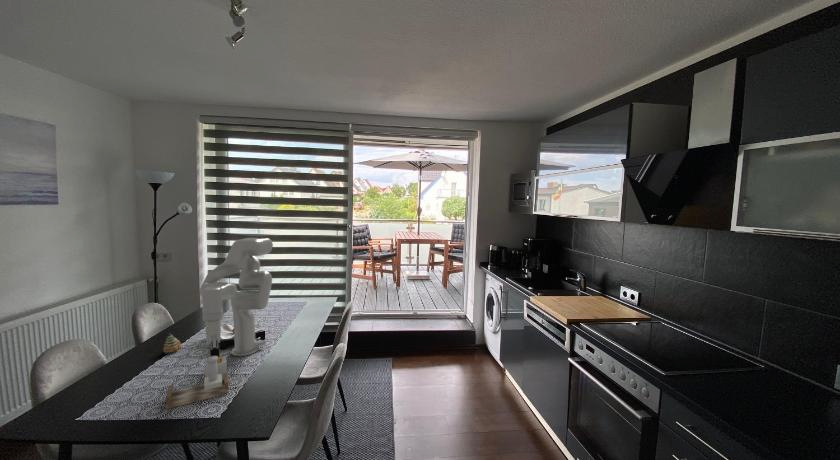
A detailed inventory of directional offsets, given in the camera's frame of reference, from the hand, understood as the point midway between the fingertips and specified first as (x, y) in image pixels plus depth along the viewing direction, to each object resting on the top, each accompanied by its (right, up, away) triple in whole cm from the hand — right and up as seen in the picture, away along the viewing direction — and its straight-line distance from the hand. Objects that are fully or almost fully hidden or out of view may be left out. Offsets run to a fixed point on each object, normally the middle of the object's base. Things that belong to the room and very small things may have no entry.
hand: (215, 357), depth 141 cm
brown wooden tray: (0, -11, -11) cm, 15 cm away
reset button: (0, -4, +1) cm, 4 cm away
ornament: (-40, -8, +28) cm, 49 cm away
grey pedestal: (+4, -8, -8) cm, 12 cm away
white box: (0, -10, +1) cm, 10 cm away
